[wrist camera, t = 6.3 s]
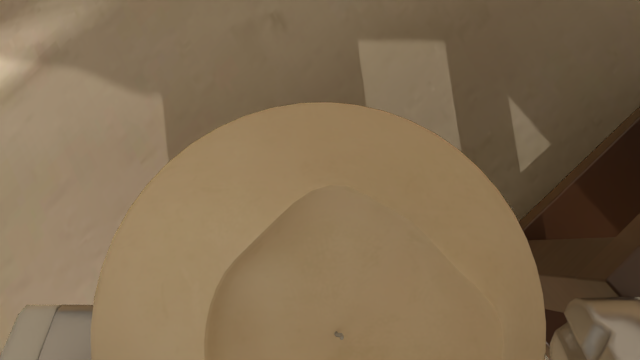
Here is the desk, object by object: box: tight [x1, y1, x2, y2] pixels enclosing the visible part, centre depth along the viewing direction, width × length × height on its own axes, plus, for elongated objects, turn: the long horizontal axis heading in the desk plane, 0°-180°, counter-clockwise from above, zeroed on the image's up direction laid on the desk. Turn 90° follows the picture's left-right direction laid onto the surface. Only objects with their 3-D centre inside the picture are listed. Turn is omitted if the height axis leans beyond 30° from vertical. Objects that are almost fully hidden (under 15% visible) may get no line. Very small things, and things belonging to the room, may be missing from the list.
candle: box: [91, 102, 546, 360], centre depth 10 cm, size 6×6×10 cm
